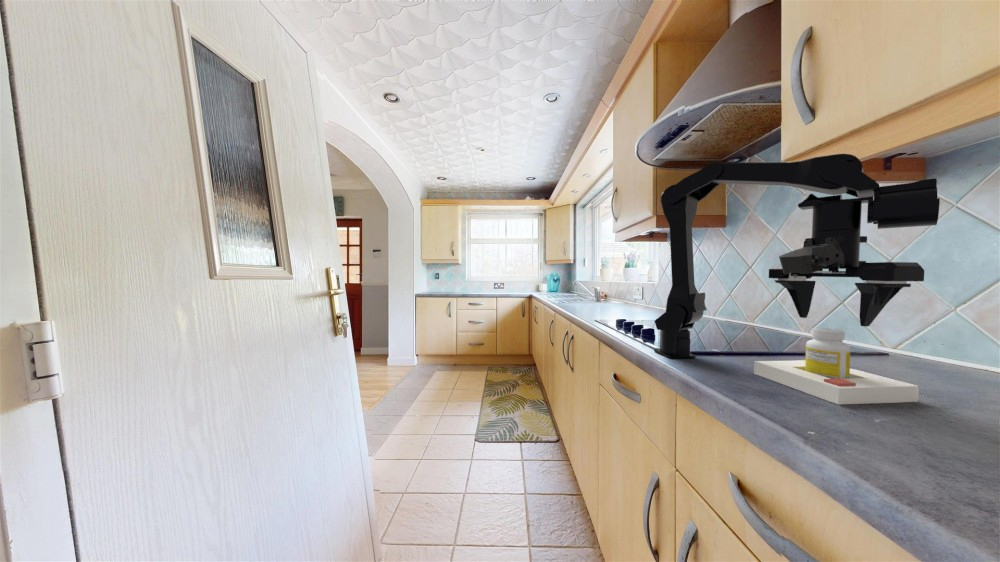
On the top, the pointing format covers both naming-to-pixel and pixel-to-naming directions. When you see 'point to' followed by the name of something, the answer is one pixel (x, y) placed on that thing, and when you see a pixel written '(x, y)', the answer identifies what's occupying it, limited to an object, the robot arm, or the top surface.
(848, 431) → the top surface
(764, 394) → the top surface
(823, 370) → the supplement bottle
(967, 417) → the top surface
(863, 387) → the socket plate
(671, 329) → the robot arm
